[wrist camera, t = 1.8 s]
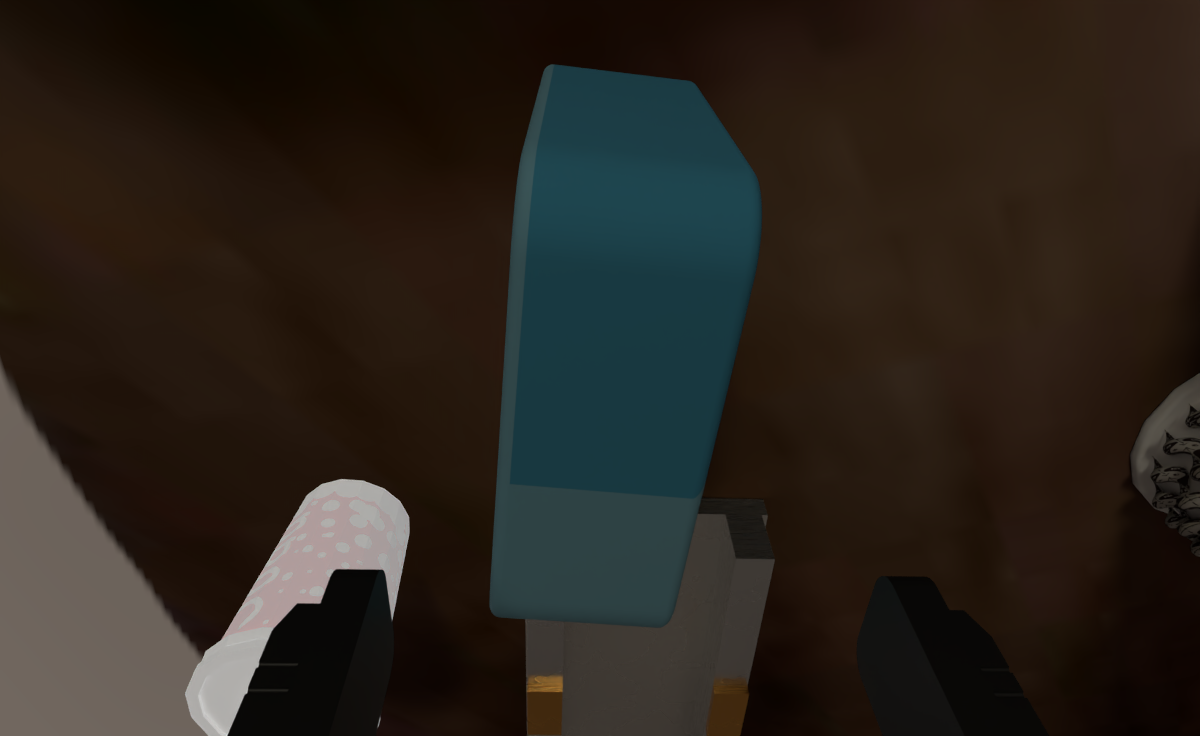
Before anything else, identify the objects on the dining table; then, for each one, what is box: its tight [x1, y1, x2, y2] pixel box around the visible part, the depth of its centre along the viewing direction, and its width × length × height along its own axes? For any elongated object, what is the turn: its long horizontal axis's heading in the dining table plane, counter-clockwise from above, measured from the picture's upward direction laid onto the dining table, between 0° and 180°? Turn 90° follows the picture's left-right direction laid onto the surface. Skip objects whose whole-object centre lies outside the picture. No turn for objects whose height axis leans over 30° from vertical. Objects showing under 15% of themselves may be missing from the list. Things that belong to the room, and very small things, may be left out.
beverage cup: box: [185, 479, 409, 736], centre depth 26 cm, size 6×6×14 cm
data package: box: [490, 65, 762, 628], centre depth 21 cm, size 12×4×12 cm, turn 173°
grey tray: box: [526, 498, 775, 736], centre depth 35 cm, size 10×18×4 cm, turn 178°
